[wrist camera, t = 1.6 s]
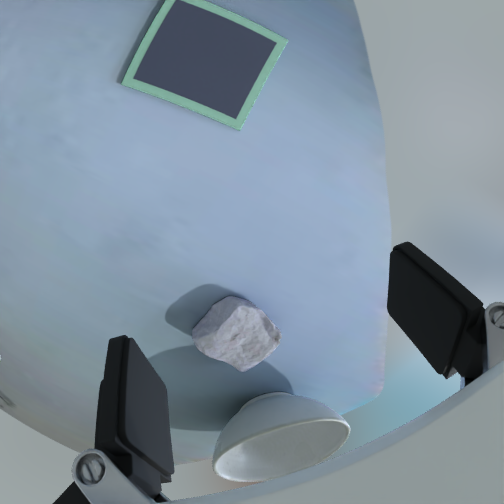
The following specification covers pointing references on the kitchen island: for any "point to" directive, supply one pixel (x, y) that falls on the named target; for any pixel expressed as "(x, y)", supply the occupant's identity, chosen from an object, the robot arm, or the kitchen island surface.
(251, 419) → the decorative bowl
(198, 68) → the ink pad
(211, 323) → the stone block
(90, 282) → the kitchen island surface
